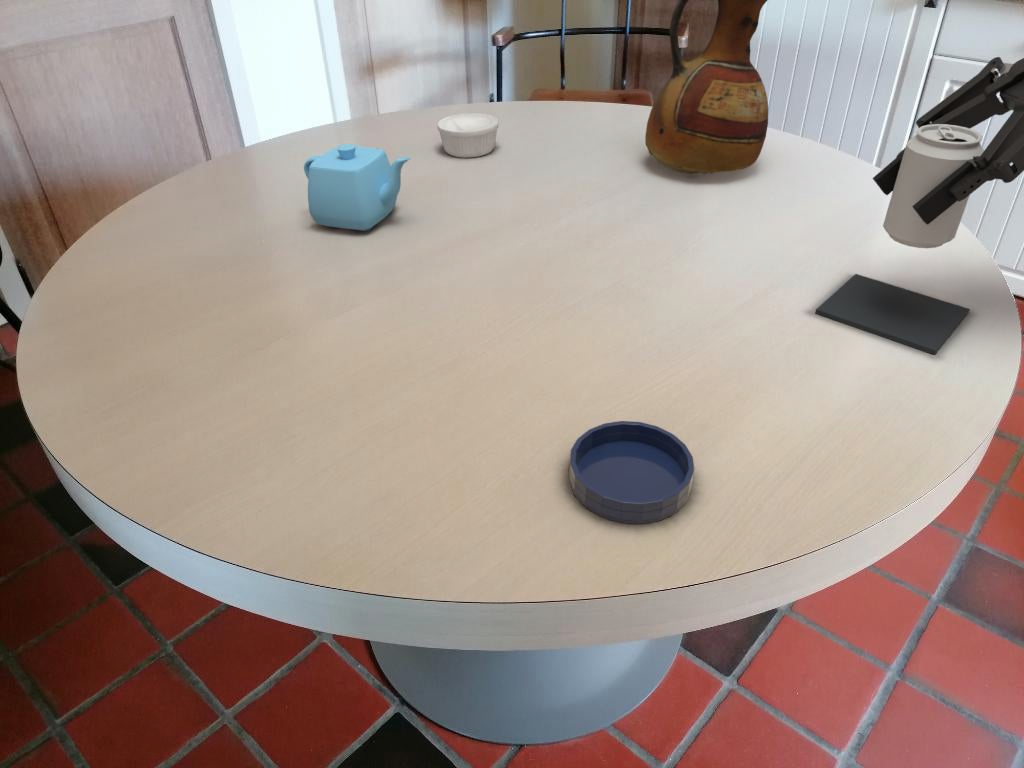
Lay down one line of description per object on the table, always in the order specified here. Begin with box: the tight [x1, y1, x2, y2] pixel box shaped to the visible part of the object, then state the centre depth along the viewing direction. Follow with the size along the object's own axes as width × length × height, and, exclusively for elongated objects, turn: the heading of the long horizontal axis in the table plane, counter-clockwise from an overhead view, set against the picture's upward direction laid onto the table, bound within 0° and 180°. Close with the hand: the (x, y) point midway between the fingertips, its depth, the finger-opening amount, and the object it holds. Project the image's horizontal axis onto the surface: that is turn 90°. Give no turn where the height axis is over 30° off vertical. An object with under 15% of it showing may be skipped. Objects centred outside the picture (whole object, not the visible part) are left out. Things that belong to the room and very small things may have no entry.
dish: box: [569, 420, 695, 525], centre depth 68 cm, size 11×11×2 cm
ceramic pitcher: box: [644, 0, 769, 175], centre depth 124 cm, size 20×20×30 cm
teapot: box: [303, 143, 412, 232], centre depth 114 cm, size 12×18×12 cm
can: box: [882, 124, 985, 249], centre depth 82 cm, size 8×8×12 cm
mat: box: [814, 273, 971, 355], centre depth 92 cm, size 14×12×1 cm
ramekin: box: [436, 112, 499, 159], centre depth 141 cm, size 11×11×5 cm
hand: (899, 200), depth 83 cm, fingers closed on can, 7 cm apart
